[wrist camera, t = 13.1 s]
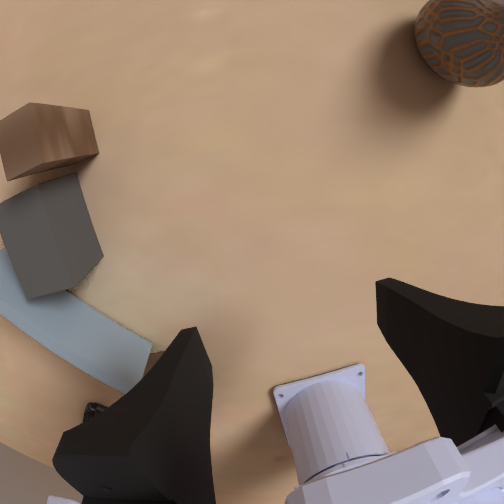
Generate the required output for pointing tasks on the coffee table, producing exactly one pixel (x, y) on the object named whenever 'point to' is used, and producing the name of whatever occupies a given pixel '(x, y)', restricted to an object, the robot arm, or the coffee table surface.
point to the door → (75, 332)
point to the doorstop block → (49, 236)
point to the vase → (463, 40)
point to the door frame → (48, 146)
